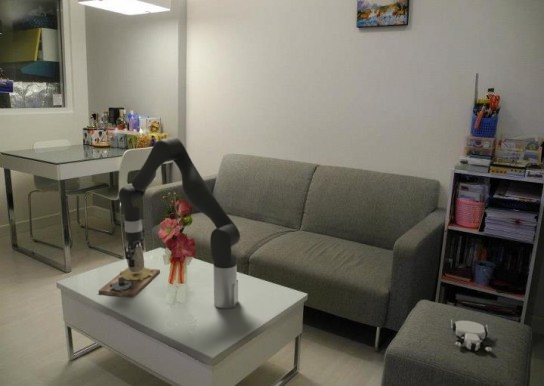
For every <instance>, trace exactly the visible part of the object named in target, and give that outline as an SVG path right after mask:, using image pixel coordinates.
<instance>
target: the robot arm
mask: <svg viewBox="0 0 544 386" xmlns="http://www.w3.org/2000/svg"><path fill="white" fill-rule="evenodd" d="M171 161H173V162H174V163H175V164H176V166H177V168H178V170H179V171H180V176H181V183H182V184H181V185H182V189H183V193H184V194H185V196H186V198H187V199H188V201H189V203H190V204H191V205H192V206H193V207H194V208H195V209H197V210H198V211H199V212H200V213H202V214H203V215H205V216H206V217H208V219H210V221H211V222H212V223H213V225H214V226H215V228H214V229H213V230H212V231H211V234H210V255H211V259H212V261H213V262H212V263H213V302H214V303H213V304H214V306H215V307H216V308H220V309H231V308H235V307H236V306H237V304H238V302H239V279H238V278H237V277H238V276H237V274H238V273H237V270H238V269H237V263H238V262H237V257H236V256H235V255H234V254H232V247H234V246H235V245H237V244H238V243H239V241H240V239H241V232H240V230H239V229H238V227H237V225H236V224H235V223H234V221H232V219H231V218H230V216H229V215H227V213H226V212H225V210H224V209H223V207H222V206H221V205H220V203H219V201H218V200H217V199H216V197H215V196H214V194H213V193H212V190H211V189H210V187H209V186H208V185H207V183H206V182H205V180H204V178H203V177H202V176H201V174H200V172H199V171H198V170H197V167H196V166H195V164H194V163H193V161H192V159H191V156H190V155H189V153H188V150H187V149H186V148H185V146H184V144H183V142H182V141H181V140H180V139H179V138H177V137H175V136H170V137H167V138H166V137H165V138H160V139H158V140H157V141H156V142H155V143H154V145H153V146H152V148H151V150H150V152H149V154H148V156H147V158H146V160H145V162H144V163H143V165H142V166H141V168H140V169H139V170H138V172H137V173H136V174H135V175H134V177H133V178H132V179H131V185H126V186H123V187H122V188H120V190H119V192H118V198H119V201H120V205H121V207H122V209H123V214H124V215H123V216H124V234H125V235H124V239H125V240H126V241H127V243H128V244H127V246H125V247H124V255H125V256H124V257H125V260H127V259H128V260H129V267H134V266H135V265H134V256H135V254H136V248H137V247H138V246H141V247H142V251H145V239H144V238H143V237H144V236H143V223H142V213H141V211H142V210H141V207H140V206H138V205H133V202H136V201H139V200H141V199H142V198H143V197H144V196H145V194H146V191H147V188H148V187H149V186H150V185H151V184H152V183H153V181H154V180H155V178H156V174H157V170H158V169H159V168H160V167H161V166H162V165H163V164H165V163H168V162H171ZM134 248H135V249H134ZM131 250H134V252H131Z"/></svg>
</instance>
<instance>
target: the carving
mask: <svg viewBox="0 0 544 386" xmlns="http://www.w3.org/2000/svg"><path fill="white" fill-rule="evenodd" d="M134 249H135V248H134ZM131 252H134V250H131ZM126 263H127V268H128V267H129V260H128V259H126ZM134 265H135V266H134V267H129V270H130V271H131V272H138V271H141V270H142V269H143V268H144V266H145V258H144V252H143V251H142V246H138V247H137V248H136V254H135V256H134Z"/></svg>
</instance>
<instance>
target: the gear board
mask: <svg viewBox="0 0 544 386" xmlns="http://www.w3.org/2000/svg"><path fill="white" fill-rule="evenodd" d="M160 273H161V269H158V268H157V269H156V268H147V267H146V266H145V265H144V268H143V269H142V270H141V271H138V272H131V271H130V270H129V267H128V266H127V267H126V268H125V269H124V270H120V271H119V273H118V275H116V276H115V277H114V278H113V279H111V280H110V281H109V282H107V283H106V284H105V285H103V287H101V288H100V289H98V294H99V295H108V296H109V295H110V296H116V297H117V296H118V297H124V298H125V297H126V298H135V297H136V296H137V295H138V294H139V293H140V292H141V291H142V290H143V289H144V288H145V287H147V286H148V285H149V284H150V283H151V282H152V281H153V280H154V279H155V278H156V277H157V276H158V275H159V274H160Z"/></svg>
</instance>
